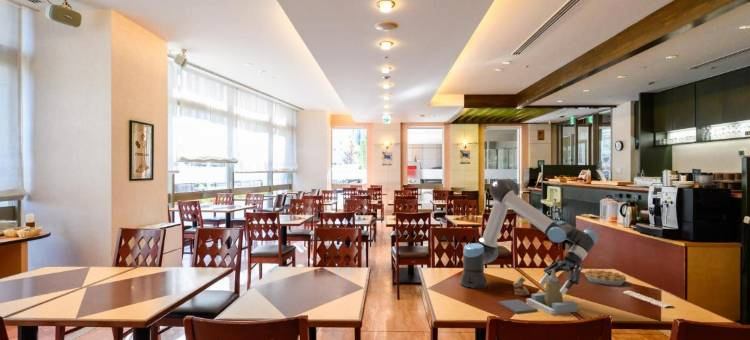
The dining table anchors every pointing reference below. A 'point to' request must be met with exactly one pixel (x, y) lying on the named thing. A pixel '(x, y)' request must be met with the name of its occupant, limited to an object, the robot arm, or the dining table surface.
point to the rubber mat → (517, 306)
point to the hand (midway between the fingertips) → (550, 288)
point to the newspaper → (647, 299)
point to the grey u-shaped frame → (556, 307)
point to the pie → (605, 277)
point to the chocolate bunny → (520, 287)
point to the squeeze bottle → (553, 290)
